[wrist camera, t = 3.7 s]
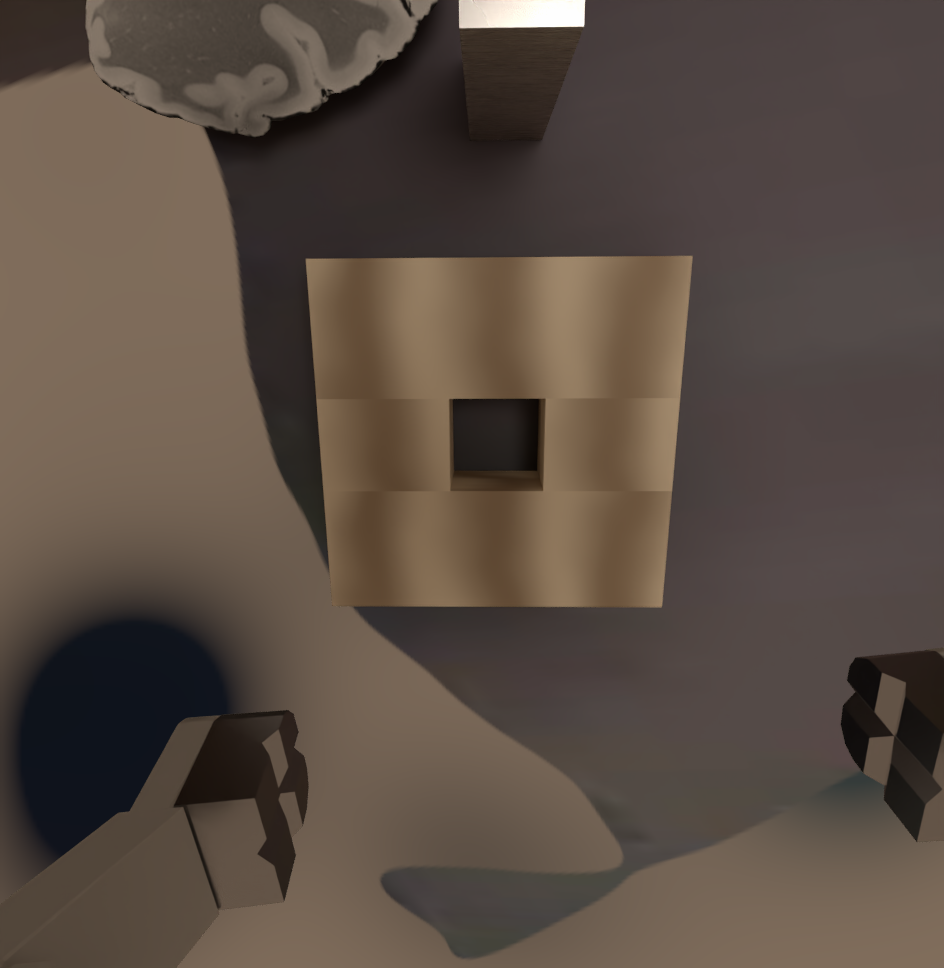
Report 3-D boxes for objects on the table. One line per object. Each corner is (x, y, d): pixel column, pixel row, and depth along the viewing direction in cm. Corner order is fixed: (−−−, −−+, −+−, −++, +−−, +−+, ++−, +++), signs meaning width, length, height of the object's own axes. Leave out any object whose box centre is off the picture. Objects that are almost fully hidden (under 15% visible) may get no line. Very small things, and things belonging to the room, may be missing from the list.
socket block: (347, 575, 39) (332, 606, 35) (326, 262, 34) (305, 258, 30) (644, 576, 38) (661, 607, 35) (668, 260, 33) (692, 255, 29)
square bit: (470, 140, 32) (459, 28, 18) (469, 57, 31) (457, -125, 17) (542, 139, 32) (584, 26, 18) (543, 56, 31) (589, -128, 17)
